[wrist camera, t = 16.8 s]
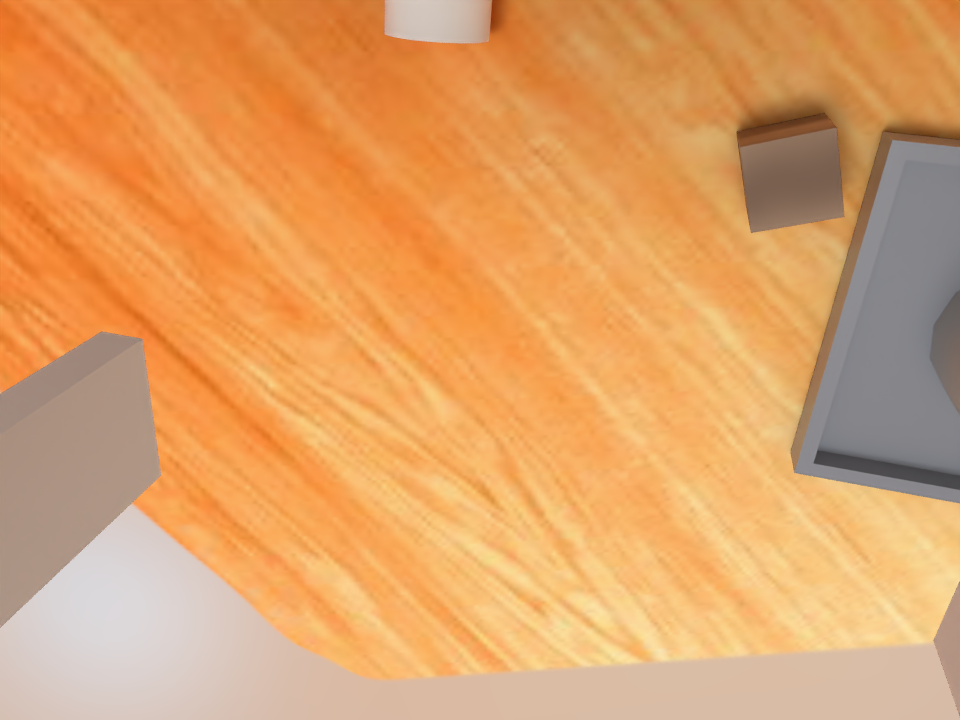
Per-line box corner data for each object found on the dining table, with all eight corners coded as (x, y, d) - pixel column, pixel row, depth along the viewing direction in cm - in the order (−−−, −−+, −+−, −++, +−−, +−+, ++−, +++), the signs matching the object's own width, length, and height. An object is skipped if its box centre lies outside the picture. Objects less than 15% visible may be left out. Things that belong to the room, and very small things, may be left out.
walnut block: (736, 131, 39) (739, 147, 36) (824, 112, 38) (836, 127, 35) (746, 210, 41) (751, 232, 37) (831, 194, 40) (844, 216, 36)
